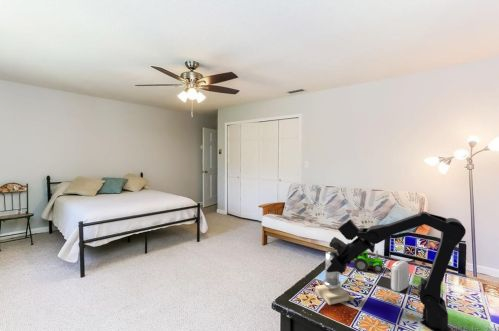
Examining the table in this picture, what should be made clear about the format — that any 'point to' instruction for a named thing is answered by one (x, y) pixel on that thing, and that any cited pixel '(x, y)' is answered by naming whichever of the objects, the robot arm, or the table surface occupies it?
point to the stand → (332, 294)
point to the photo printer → (399, 275)
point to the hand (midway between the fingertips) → (328, 268)
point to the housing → (331, 277)
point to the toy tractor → (368, 262)
